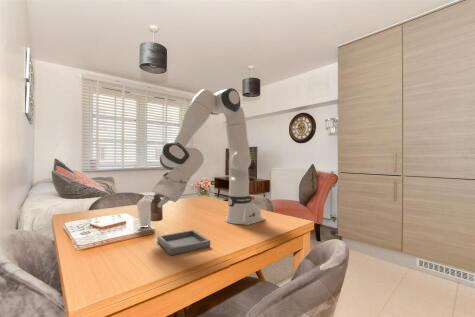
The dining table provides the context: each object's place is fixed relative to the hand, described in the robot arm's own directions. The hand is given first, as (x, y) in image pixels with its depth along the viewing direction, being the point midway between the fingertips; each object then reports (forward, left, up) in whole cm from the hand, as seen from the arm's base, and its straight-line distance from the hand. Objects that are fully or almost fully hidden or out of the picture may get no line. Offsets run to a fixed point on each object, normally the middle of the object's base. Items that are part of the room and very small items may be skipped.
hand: (155, 205), depth 98 cm
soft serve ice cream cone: (-2, -23, -15) cm, 28 cm away
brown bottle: (-1, 0, -6) cm, 6 cm away
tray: (-9, +9, -15) cm, 20 cm away
